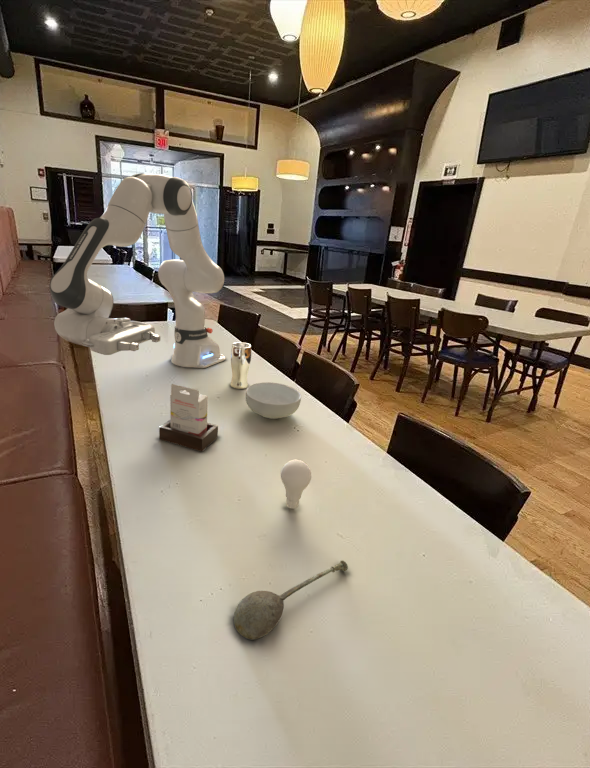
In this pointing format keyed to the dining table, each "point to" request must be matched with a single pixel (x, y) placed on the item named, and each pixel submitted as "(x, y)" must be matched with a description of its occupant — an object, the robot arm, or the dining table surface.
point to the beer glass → (240, 364)
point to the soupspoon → (268, 607)
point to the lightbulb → (295, 481)
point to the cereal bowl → (272, 399)
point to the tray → (188, 436)
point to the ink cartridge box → (188, 410)
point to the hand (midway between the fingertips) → (148, 343)
